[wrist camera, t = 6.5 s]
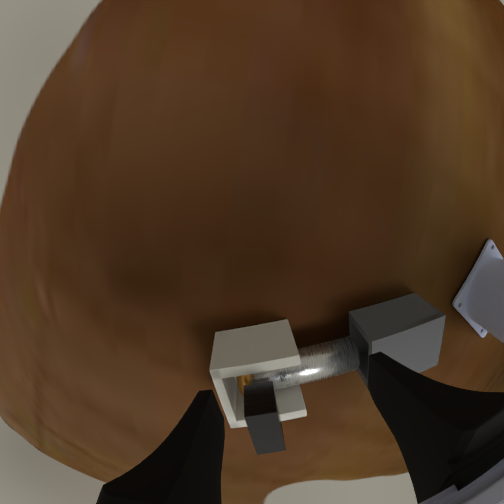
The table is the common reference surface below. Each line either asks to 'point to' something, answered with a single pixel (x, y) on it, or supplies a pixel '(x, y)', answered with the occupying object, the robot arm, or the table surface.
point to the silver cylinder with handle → (264, 384)
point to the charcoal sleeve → (398, 332)
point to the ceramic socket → (255, 366)
